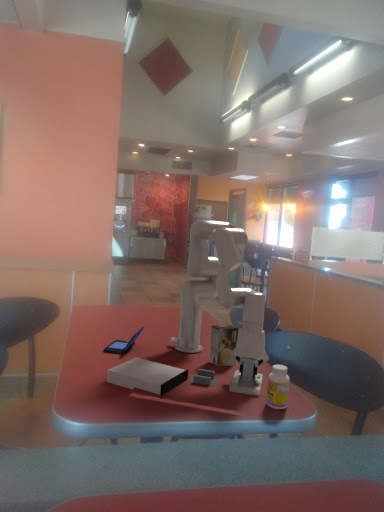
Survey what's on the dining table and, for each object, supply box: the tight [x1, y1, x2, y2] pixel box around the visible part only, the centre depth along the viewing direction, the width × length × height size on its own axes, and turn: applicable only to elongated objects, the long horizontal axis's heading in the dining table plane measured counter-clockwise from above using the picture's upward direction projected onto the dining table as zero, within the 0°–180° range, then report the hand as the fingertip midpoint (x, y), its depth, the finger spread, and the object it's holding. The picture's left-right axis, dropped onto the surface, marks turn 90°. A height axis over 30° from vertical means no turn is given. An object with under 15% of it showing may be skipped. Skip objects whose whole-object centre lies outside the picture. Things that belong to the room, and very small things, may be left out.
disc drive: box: [106, 357, 189, 399], centre depth 146 cm, size 18×22×5 cm
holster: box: [187, 368, 220, 387], centre depth 149 cm, size 10×8×4 cm
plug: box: [242, 358, 255, 379], centre depth 151 cm, size 4×4×10 cm
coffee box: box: [208, 324, 239, 367], centre depth 169 cm, size 9×6×16 cm
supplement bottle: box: [265, 364, 291, 410], centre depth 134 cm, size 7×7×13 cm
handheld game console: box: [103, 326, 145, 355], centre depth 182 cm, size 16×13×9 cm
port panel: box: [228, 369, 264, 400], centre depth 148 cm, size 10×16×3 cm, turn 166°
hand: (248, 375), depth 151 cm, fingers closed on plug, 3 cm apart
